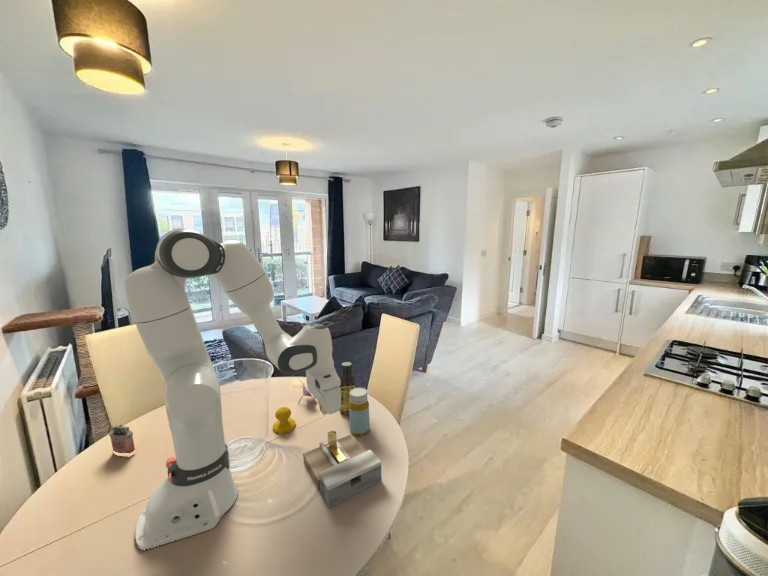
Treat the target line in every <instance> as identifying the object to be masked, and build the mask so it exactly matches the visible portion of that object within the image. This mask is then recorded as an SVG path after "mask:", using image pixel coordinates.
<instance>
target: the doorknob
mask: <svg viewBox="0 0 768 576" xmlns="http://www.w3.org/2000/svg"><path fill="white" fill-rule="evenodd" d="M291 415H292V410H291V409H290V407H288V406H281V407H279V408H278V409H277V410H276V411H275V414H274V416H275V418H276V420H277V421H275V422H274V423H273V425H272V431H273V432H274V433H276V434H279V435H280V434H287V433H289V432H291V431H293V430H294V429H295V428H296V426H297V425H296V420H295V419H293V418H291Z"/></svg>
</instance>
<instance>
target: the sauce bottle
mask: <svg viewBox="0 0 768 576" xmlns="http://www.w3.org/2000/svg"><path fill="white" fill-rule="evenodd" d="M352 367H353V364H352V362H351V361H345V362H342V363H341V375H340V377H339V378H340V381H341V385H339V389H340V397H341V408H340V410H339V412H340V414H342V415H349V403H350V391H351V390H352V389H354V388H356V385H355V381H356V380H355V377H354V376H353V371H352Z"/></svg>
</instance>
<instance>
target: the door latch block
mask: <svg viewBox="0 0 768 576" xmlns="http://www.w3.org/2000/svg"><path fill="white" fill-rule="evenodd" d="M327 445H328V443H326V444H324V442H323V441H321V442H319V446H318V447H317V448H314V449H311V450H309V451H307V452H304V453H303V454H302V457H303V463H304V465H305V467H306V469H307V471H308V473H309V474H310V476H311V478H312V480H313V481H314V483H315V485H316V488H317V489H318V491H320V494H321V496H322V498H323V500H324V502H325V504H326V505H327V507H328V509H331V508H333V507H335V506H336V505H339V504H340V503H343V502H344V501H346V500H348V499H351V498H352V497H354V496H356V495H358V494H359V493H362V492H363V491H365V490H367V489H369V488H371V487H374V486H375V485H377V484H379V483H381V482H382V479H383V478H382V461H381V460H380V459H379V457H378V456H377V455H376V454H375V453H374V452H373V451H372V450H371V449H368V450H365V451H364V450H363V448H362V447H361V446H360V445H359V444H358V442H357V441H356V440H355V439H354V438H353V436H351V435H350V434H348V435H346V436H343V437H341V438H339V439H337V447H338V448H339V449H340V451H341V452H342V453H343V454H344V456H345V457H346V458H347V460H346V461H343V462H341V463H339V464H337V462H336V461H335V459H334V458H333V457H332V455H331V454H330V452H329V451H328V449H327Z"/></svg>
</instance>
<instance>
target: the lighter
mask: <svg viewBox="0 0 768 576" xmlns="http://www.w3.org/2000/svg"><path fill="white" fill-rule="evenodd" d="M111 429H112V430H111V431H109V433H108V436H109V437H110V443H111V447H112V452H113V451H115V452H118V453H131V452H133V451H134V450H136V448H135V442H134V437H133V435H134V433H133V431H131V430H130V427H129V426H127V425H123V424H121V423H120V424H118V425H117V424H114V425H112V426H111Z"/></svg>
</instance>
